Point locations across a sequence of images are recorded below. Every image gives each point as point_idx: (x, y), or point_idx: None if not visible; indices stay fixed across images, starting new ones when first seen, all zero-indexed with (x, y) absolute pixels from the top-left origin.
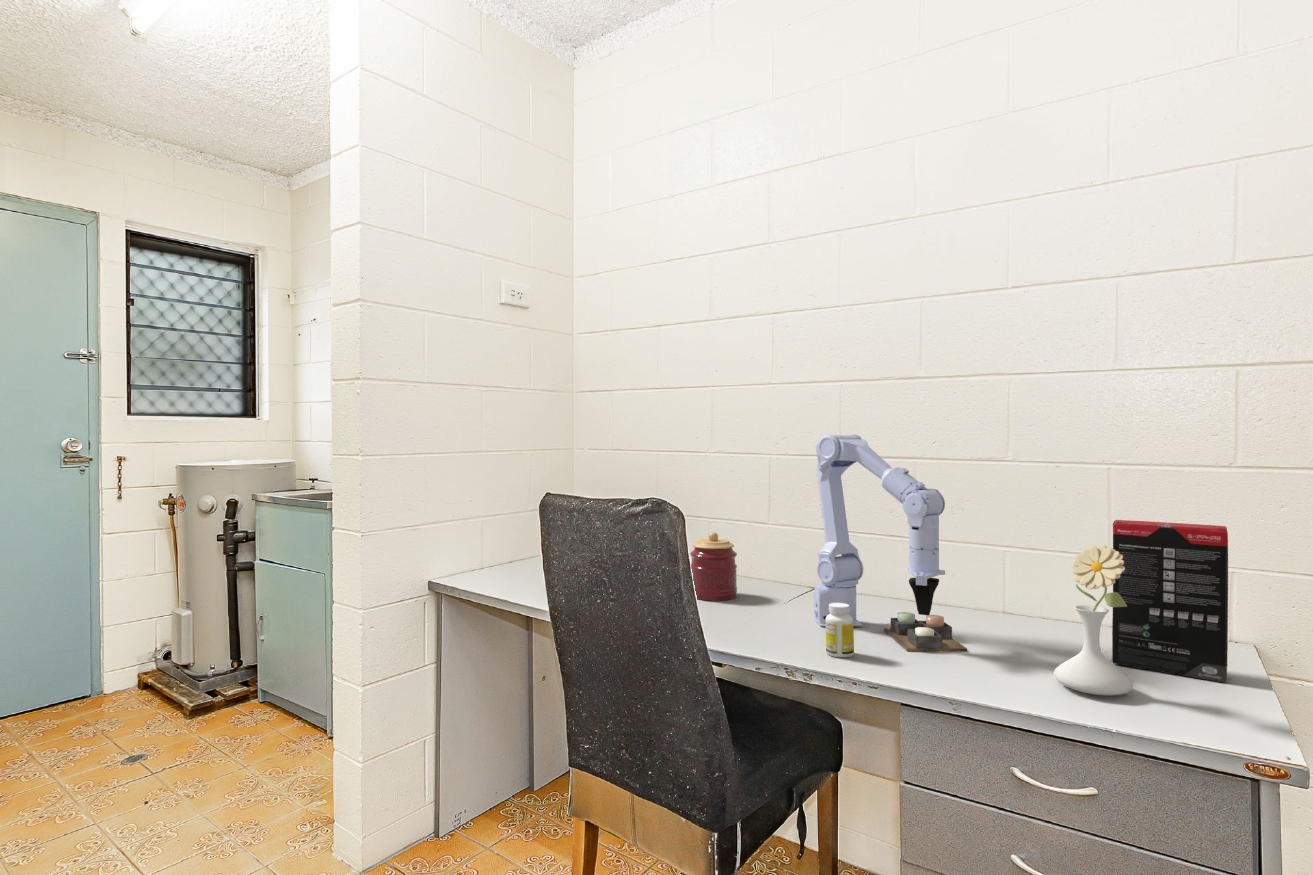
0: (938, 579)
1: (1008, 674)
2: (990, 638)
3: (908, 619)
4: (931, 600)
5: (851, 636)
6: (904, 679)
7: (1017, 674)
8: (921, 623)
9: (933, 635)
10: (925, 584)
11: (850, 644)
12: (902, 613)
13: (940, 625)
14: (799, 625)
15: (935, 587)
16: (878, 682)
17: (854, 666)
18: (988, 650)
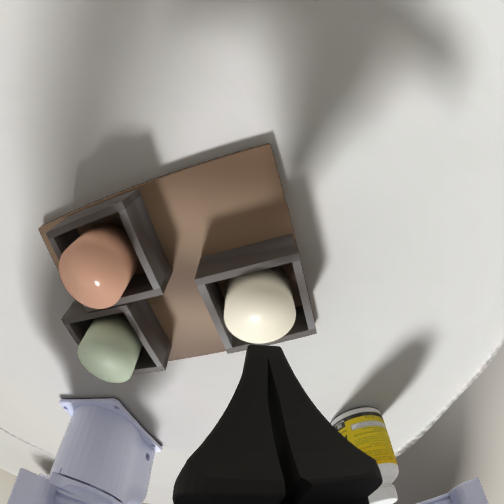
0: (228, 496)
1: (472, 82)
2: (60, 59)
3: (133, 352)
4: (309, 401)
5: (384, 440)
6: (494, 318)
7: (466, 58)
8: (120, 307)
9: (275, 279)
10: (477, 484)
11: (383, 427)
12: (104, 371)
13: (122, 246)
14: (169, 464)
15: (374, 461)
16: (495, 349)
17: (424, 392)
18: (225, 64)
